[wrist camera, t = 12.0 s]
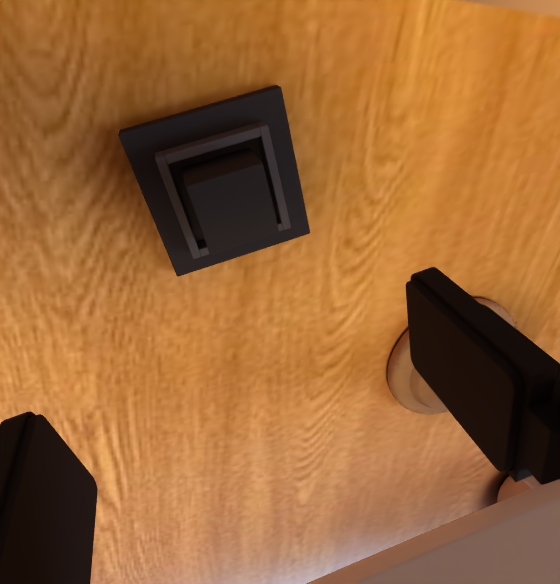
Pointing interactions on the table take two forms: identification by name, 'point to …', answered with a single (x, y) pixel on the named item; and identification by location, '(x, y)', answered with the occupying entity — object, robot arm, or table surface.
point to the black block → (231, 199)
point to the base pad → (205, 145)
